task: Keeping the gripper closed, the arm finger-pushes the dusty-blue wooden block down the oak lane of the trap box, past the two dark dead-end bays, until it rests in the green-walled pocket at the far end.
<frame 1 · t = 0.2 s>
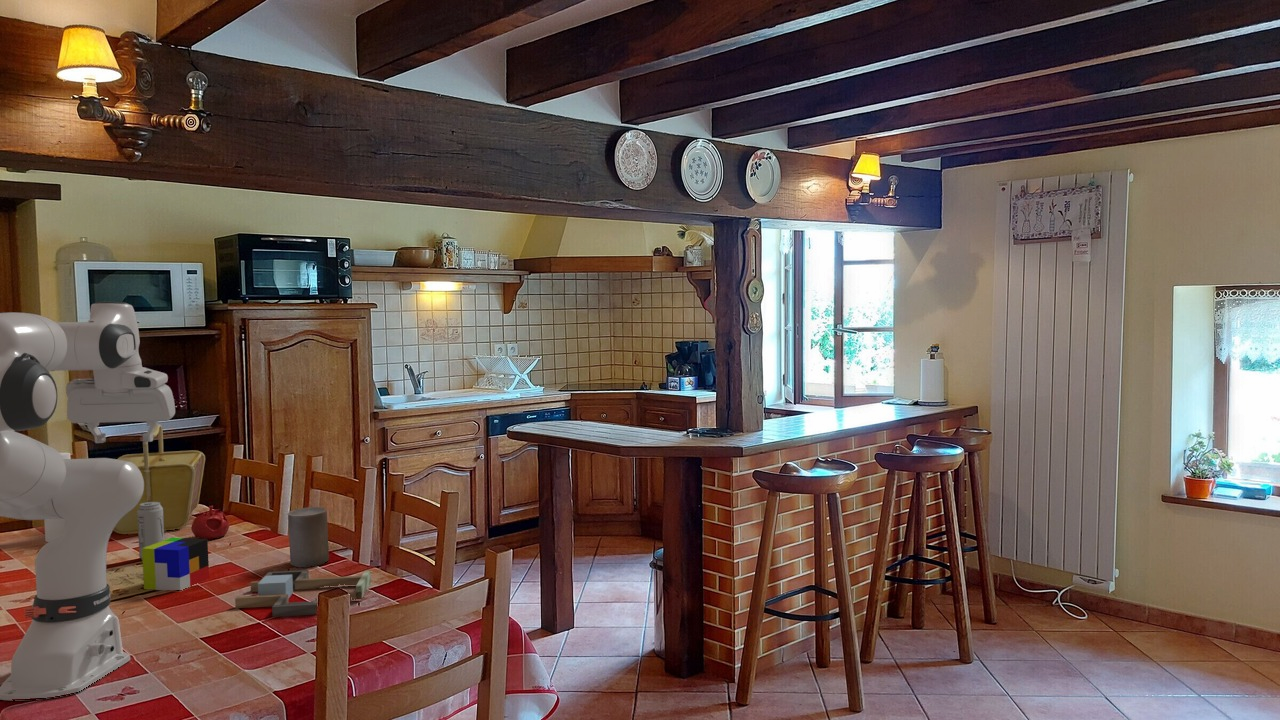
hand: (124, 441, 185), 39 cm above the table, tool pointing down, fingers open, 8 cm apart
pomegranate: (211, 538, 256), on the table
cylindrical container: (60, 539, 256), on the table
block: (276, 598, 201), resting in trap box
pillar candle: (309, 563, 229), on the table
picnic basket: (157, 524, 274), on the table
energy drink can: (152, 559, 234), on the table
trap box: (303, 595, 202), on the table
puzzle toy: (177, 584, 213), on the table
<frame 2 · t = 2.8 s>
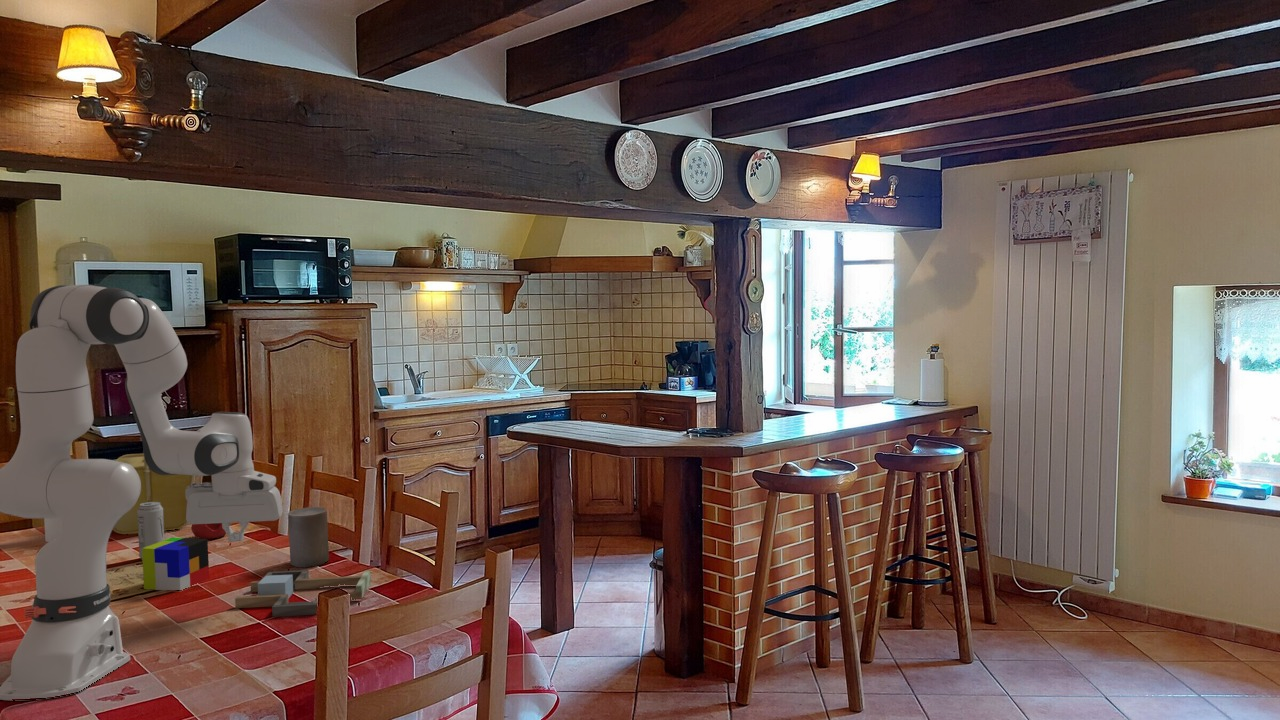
hand: (236, 540, 200), 14 cm above the table, tool pointing down, fingers closed
nothing on the table moved.
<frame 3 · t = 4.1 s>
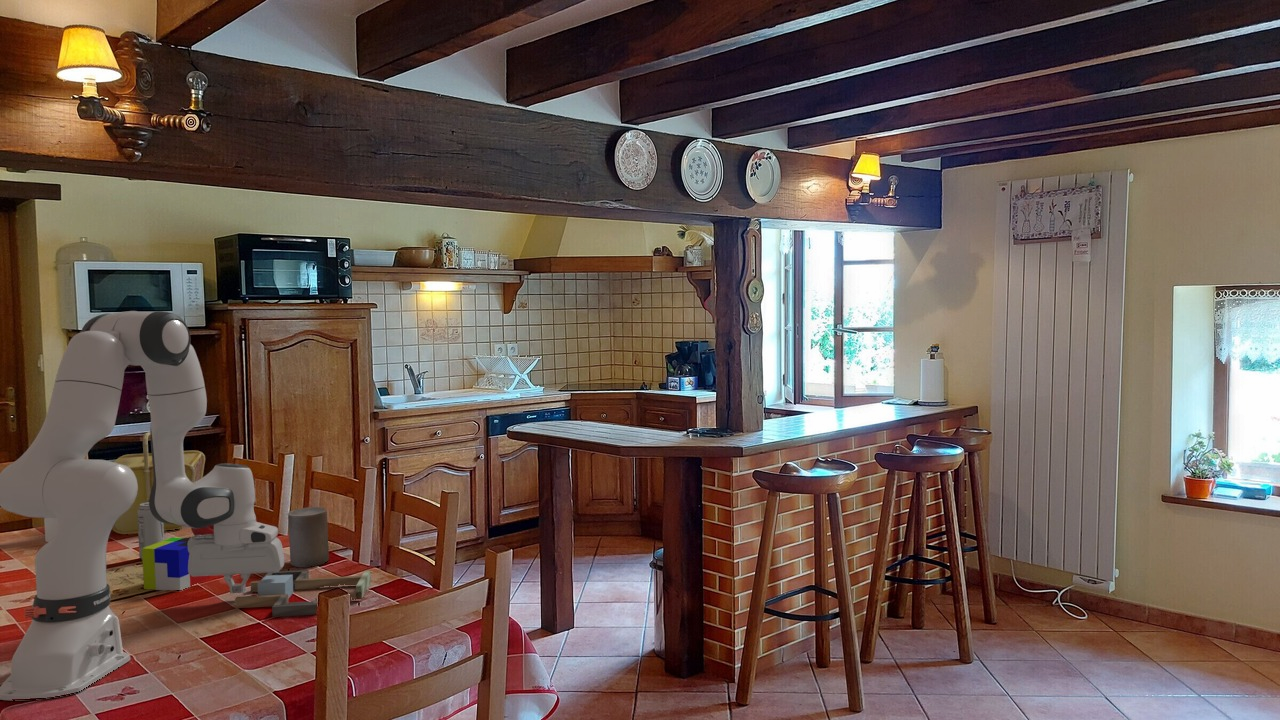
hand: (237, 592, 200), 2 cm above the table, tool pointing down, fingers closed
nothing on the table moved.
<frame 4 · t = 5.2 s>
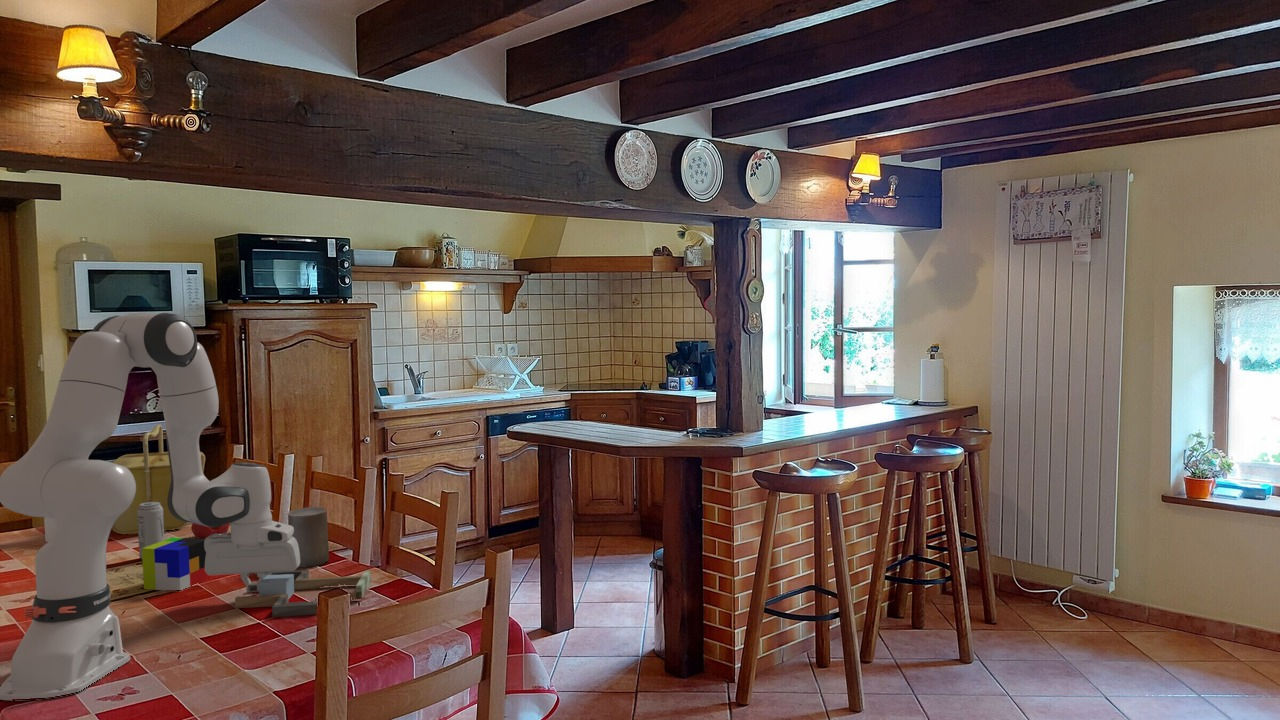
hand: (254, 591, 201), 2 cm above the table, tool pointing down, fingers closed
block: (277, 597, 202), resting in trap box, touching gripper
everything else where it was.
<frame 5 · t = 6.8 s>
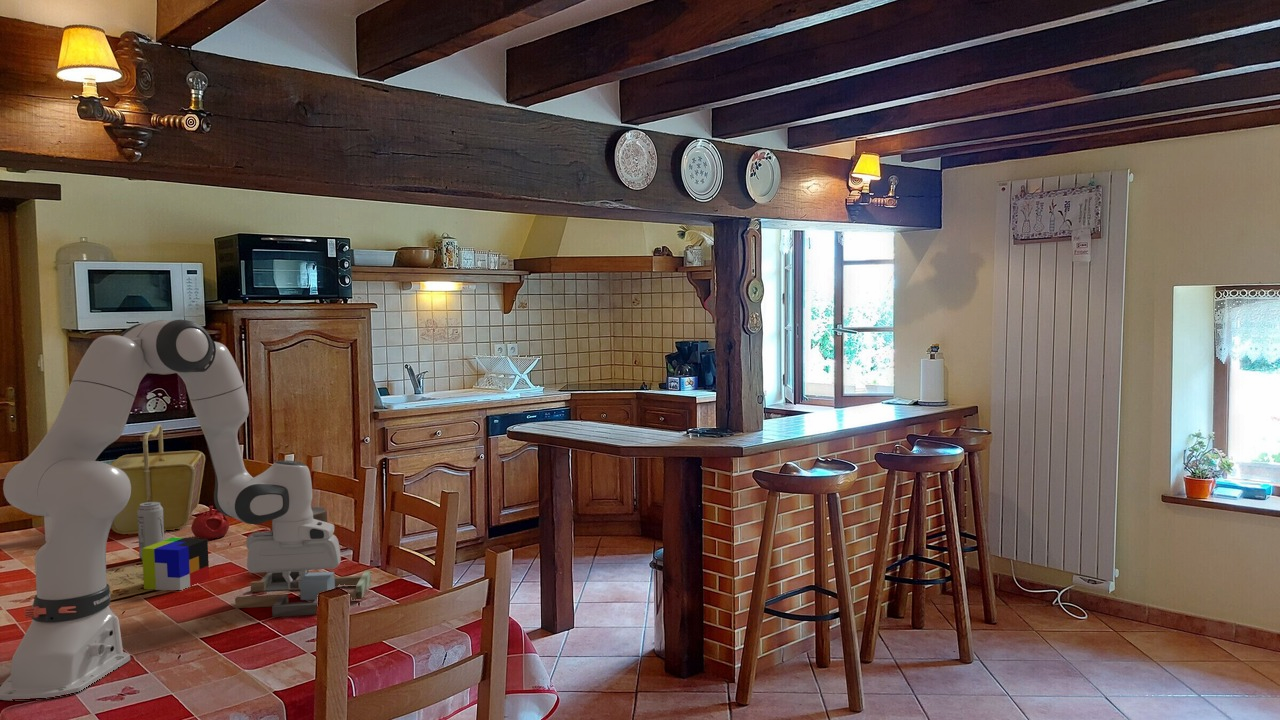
hand: (295, 588, 202), 2 cm above the table, tool pointing down, fingers closed
block: (318, 595, 203), resting in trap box, touching gripper
everything else where it was.
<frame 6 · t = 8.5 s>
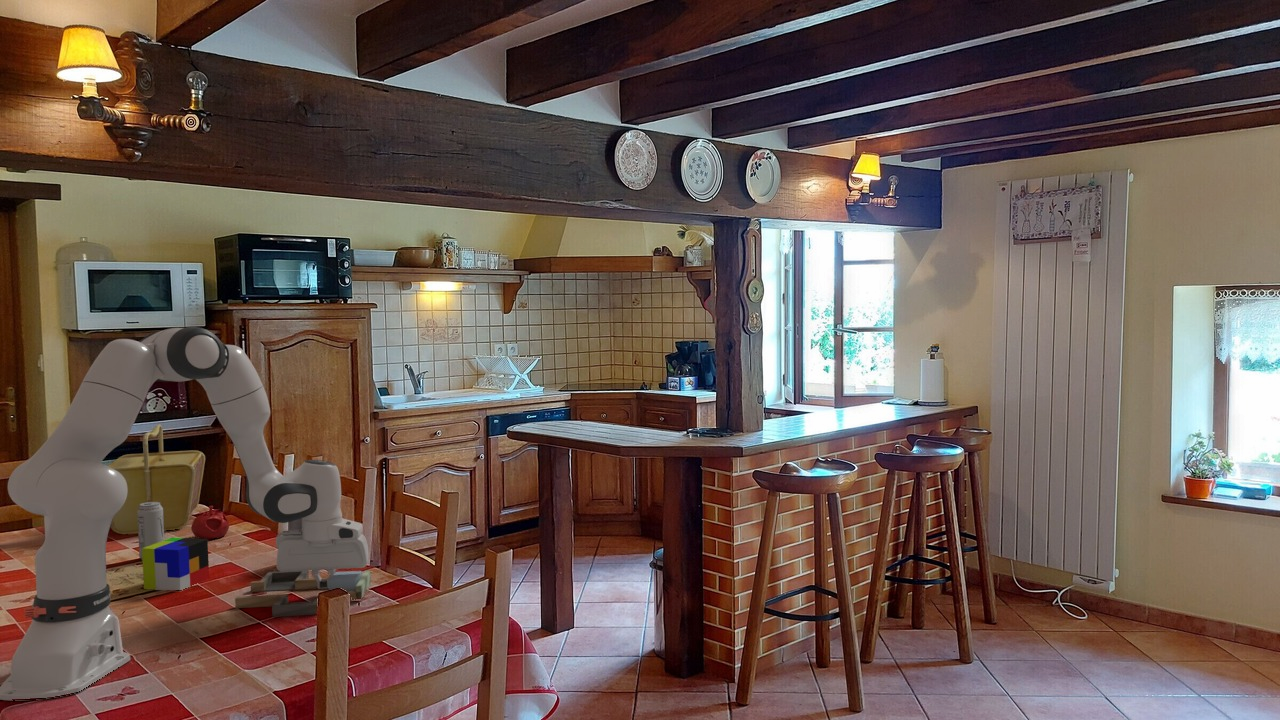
hand: (324, 587, 203), 2 cm above the table, tool pointing down, fingers closed
block: (346, 594, 203), resting in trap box, touching gripper
everything else where it was.
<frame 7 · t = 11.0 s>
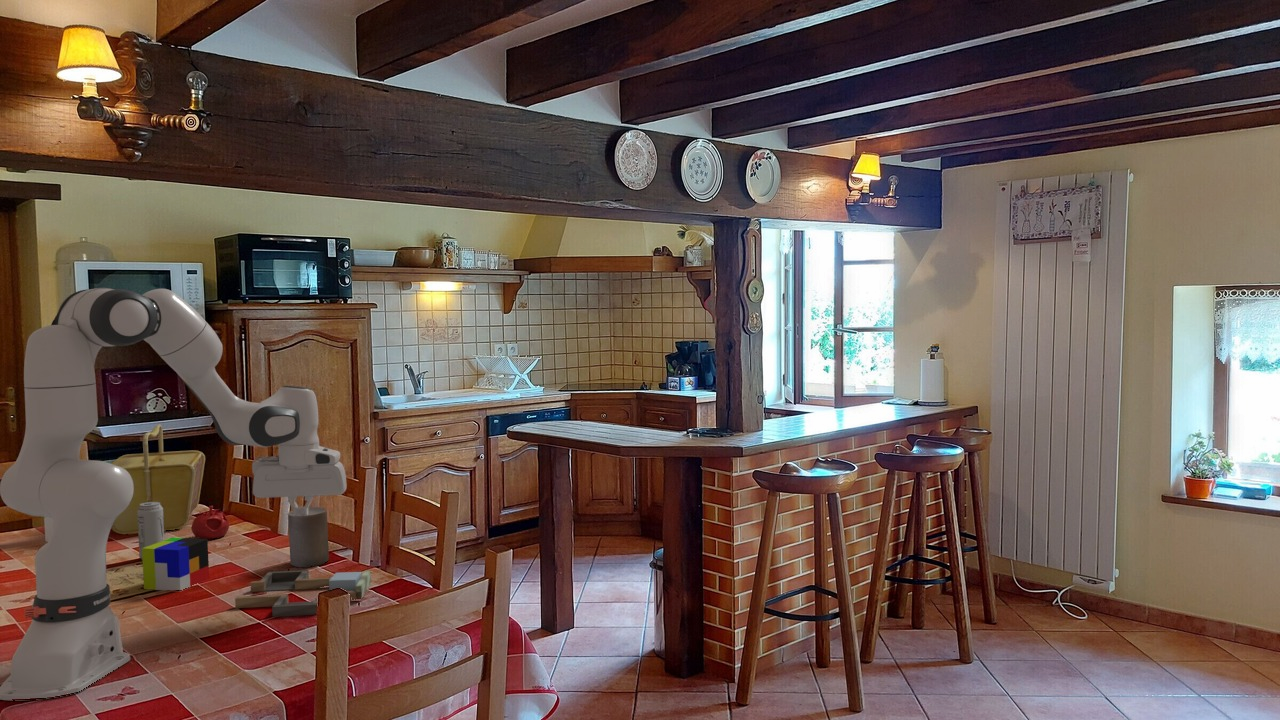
hand: (301, 515, 201), 19 cm above the table, tool pointing down, fingers closed
block: (346, 595, 203), resting in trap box
everything else where it was.
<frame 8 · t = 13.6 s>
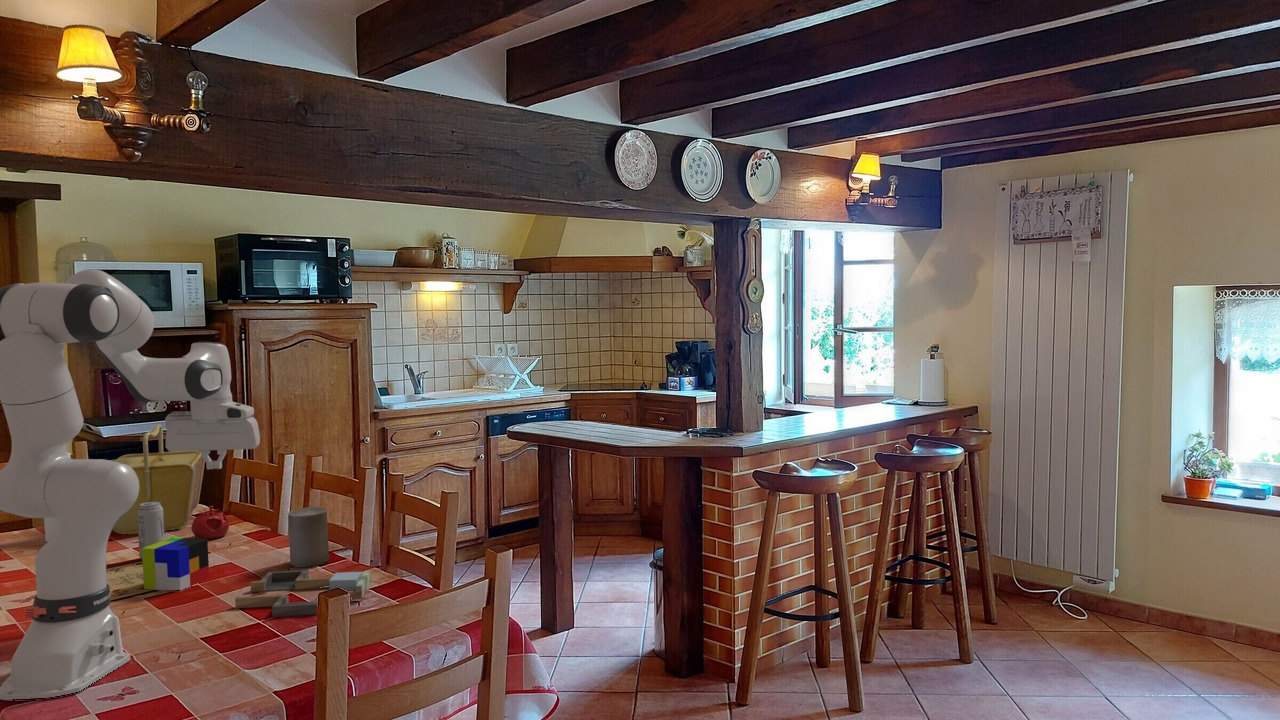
hand: (214, 468, 206), 29 cm above the table, tool pointing down, fingers closed
nothing on the table moved.
at the end: block inside the target area on the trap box (0.8 cm from its centre), point 0.0 cm above the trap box's base; block tilted 0° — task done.
